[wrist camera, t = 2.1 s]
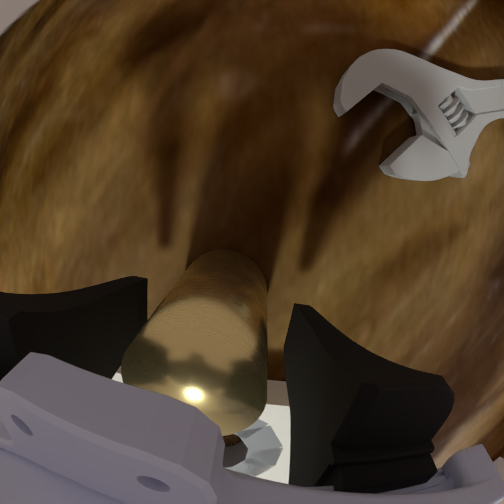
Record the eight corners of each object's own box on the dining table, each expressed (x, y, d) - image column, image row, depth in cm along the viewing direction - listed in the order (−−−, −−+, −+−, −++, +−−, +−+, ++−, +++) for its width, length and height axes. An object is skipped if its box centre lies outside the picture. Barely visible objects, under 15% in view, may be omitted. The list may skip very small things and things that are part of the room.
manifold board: (336, 385, 15) (354, 451, 10) (278, 497, 19) (278, 539, 14) (101, 343, 15) (58, 395, 10) (131, 471, 19) (116, 510, 14)
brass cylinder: (273, 256, 13) (281, 345, 6) (259, 332, 14) (253, 445, 7) (186, 242, 13) (115, 312, 6) (181, 319, 14) (129, 418, 7)
